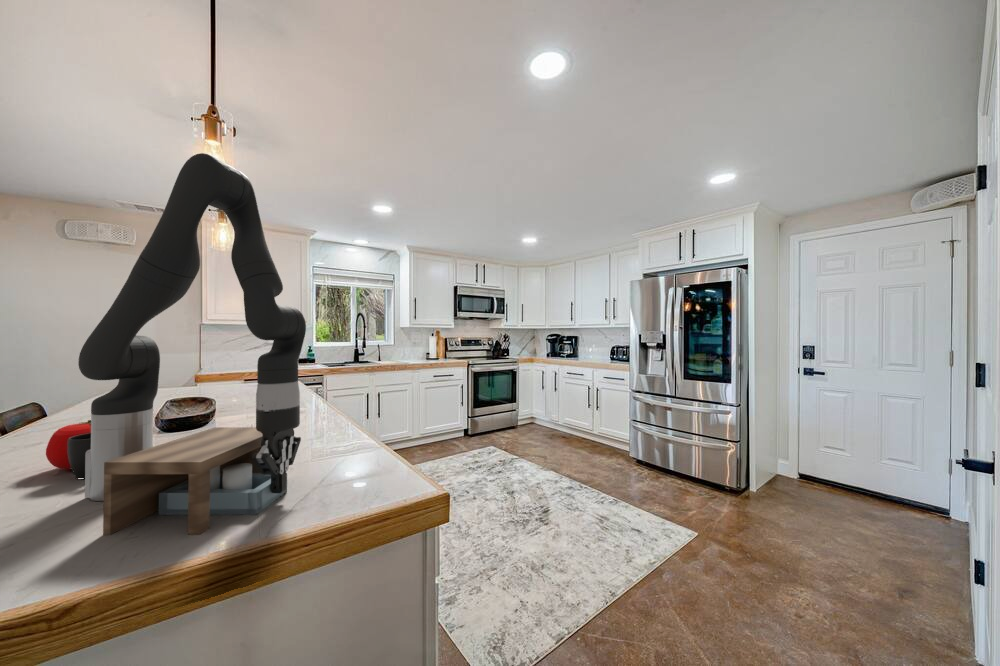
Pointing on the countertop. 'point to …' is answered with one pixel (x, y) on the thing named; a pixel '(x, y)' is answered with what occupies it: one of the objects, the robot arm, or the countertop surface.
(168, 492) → the tray
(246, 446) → the counter shelf
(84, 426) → the tomato
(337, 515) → the countertop surface
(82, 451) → the mug
